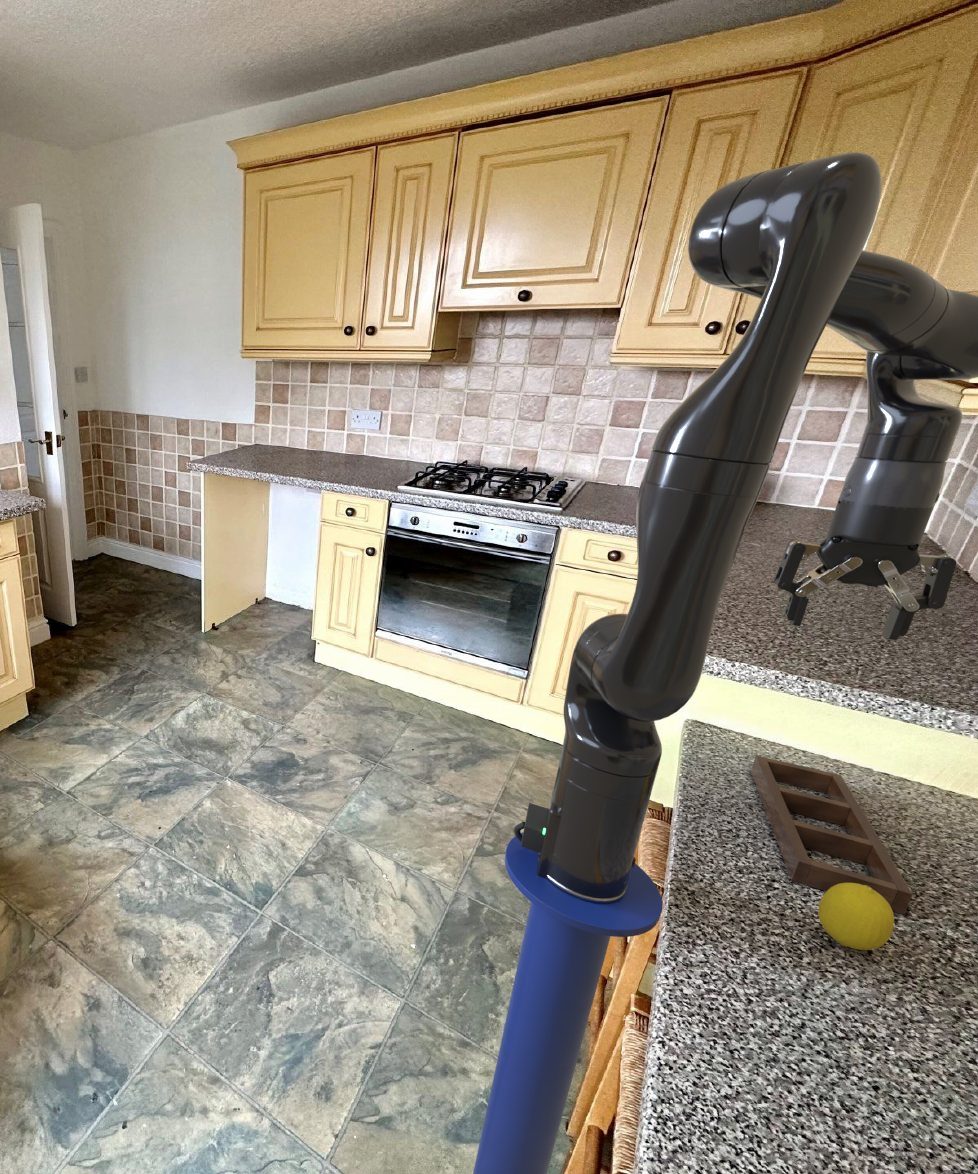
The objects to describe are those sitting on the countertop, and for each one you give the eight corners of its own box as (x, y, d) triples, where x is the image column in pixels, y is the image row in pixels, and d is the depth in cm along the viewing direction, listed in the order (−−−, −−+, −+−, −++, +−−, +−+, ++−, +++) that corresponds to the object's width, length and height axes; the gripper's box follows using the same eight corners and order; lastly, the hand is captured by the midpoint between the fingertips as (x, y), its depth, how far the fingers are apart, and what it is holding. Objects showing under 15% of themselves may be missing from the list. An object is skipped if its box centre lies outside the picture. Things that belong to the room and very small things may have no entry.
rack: (791, 881, 78) (798, 861, 77) (750, 771, 100) (755, 755, 99) (903, 915, 73) (913, 894, 72) (834, 791, 95) (841, 774, 94)
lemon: (888, 975, 66) (915, 915, 63) (817, 952, 68) (841, 894, 66) (867, 937, 70) (892, 879, 68) (802, 917, 73) (824, 861, 70)
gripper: (961, 500, 71) (910, 632, 76) (795, 489, 78) (758, 611, 84) (994, 511, 65) (936, 654, 70) (811, 497, 72) (770, 628, 77)
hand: (840, 630), depth 77 cm, fingers open, 8 cm apart
